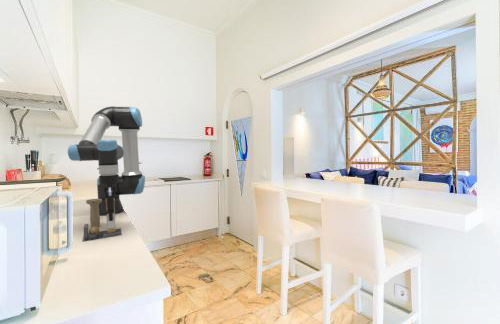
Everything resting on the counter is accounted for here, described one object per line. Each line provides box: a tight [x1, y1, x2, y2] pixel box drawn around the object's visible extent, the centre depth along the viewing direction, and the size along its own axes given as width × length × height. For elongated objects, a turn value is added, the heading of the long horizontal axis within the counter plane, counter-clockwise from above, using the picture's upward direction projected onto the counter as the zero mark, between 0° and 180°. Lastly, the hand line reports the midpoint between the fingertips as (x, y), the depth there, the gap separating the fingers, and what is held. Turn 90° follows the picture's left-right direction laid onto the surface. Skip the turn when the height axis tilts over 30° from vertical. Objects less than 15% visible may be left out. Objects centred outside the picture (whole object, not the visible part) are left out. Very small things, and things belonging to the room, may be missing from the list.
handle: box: [85, 198, 102, 229], centre depth 118 cm, size 5×6×15 cm
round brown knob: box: [88, 227, 100, 235], centre depth 107 cm, size 4×4×4 cm
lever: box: [105, 198, 117, 234], centre depth 110 cm, size 4×4×15 cm
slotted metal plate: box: [81, 223, 123, 242], centre depth 109 cm, size 11×14×6 cm
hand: (111, 226), depth 110 cm, fingers closed on lever, 3 cm apart
